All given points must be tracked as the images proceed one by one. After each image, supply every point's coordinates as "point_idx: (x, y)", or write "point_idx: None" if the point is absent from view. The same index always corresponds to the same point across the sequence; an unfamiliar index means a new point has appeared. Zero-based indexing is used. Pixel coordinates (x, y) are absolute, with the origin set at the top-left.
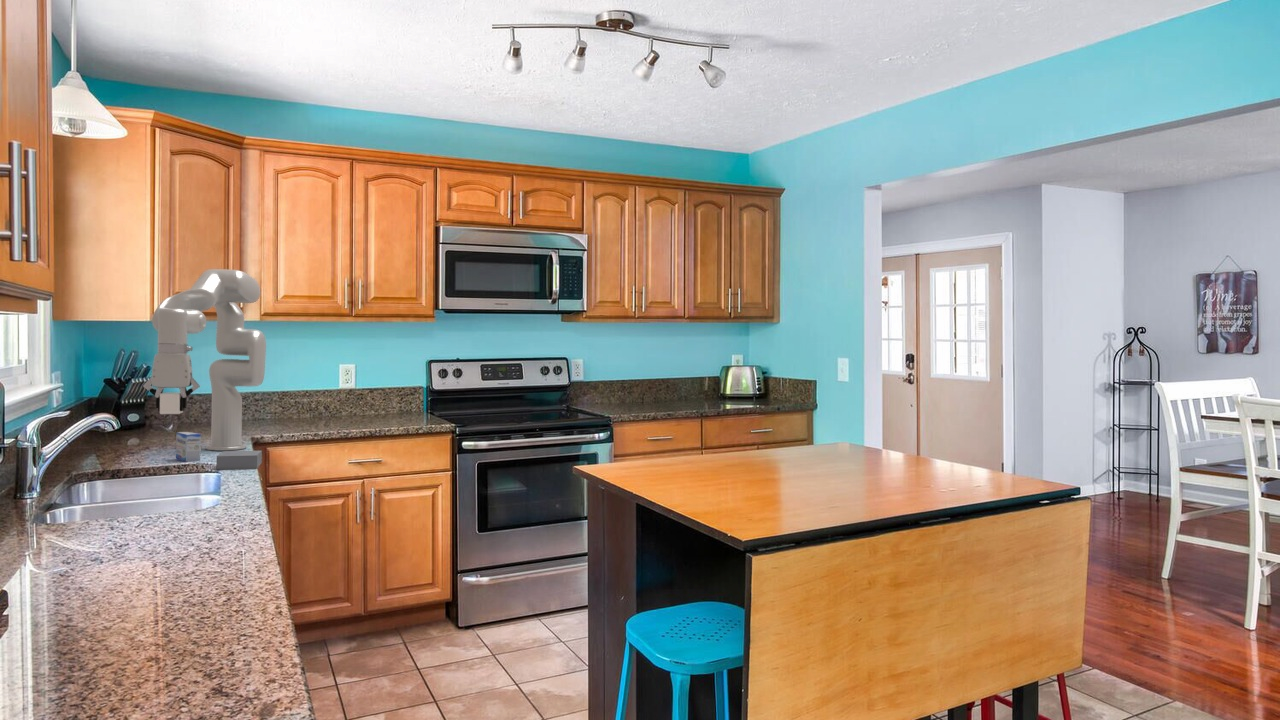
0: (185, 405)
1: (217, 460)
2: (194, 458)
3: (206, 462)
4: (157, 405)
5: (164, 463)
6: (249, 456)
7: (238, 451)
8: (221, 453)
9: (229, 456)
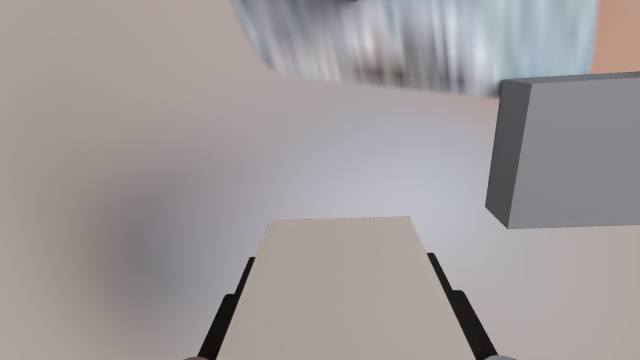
0: None
1: (502, 221)
2: None
3: (438, 24)
4: None
5: (285, 39)
6: (623, 223)
7: (599, 100)
8: (525, 158)
9: (551, 227)
